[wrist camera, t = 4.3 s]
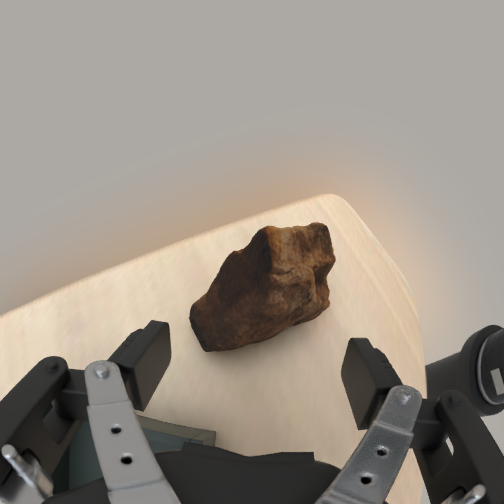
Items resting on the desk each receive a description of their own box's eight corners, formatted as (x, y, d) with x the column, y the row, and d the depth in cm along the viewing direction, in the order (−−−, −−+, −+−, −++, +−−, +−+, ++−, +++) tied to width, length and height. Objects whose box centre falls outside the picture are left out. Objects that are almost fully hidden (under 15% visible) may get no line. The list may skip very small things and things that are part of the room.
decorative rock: (304, 269, 27) (329, 195, 18) (330, 322, 24) (376, 267, 15) (188, 308, 25) (154, 245, 16) (207, 368, 22) (175, 339, 13)
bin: (216, 431, 19) (203, 440, 14) (202, 573, 10) (190, 606, 4) (73, 392, 20) (31, 381, 14) (68, 526, 11) (33, 539, 5)
